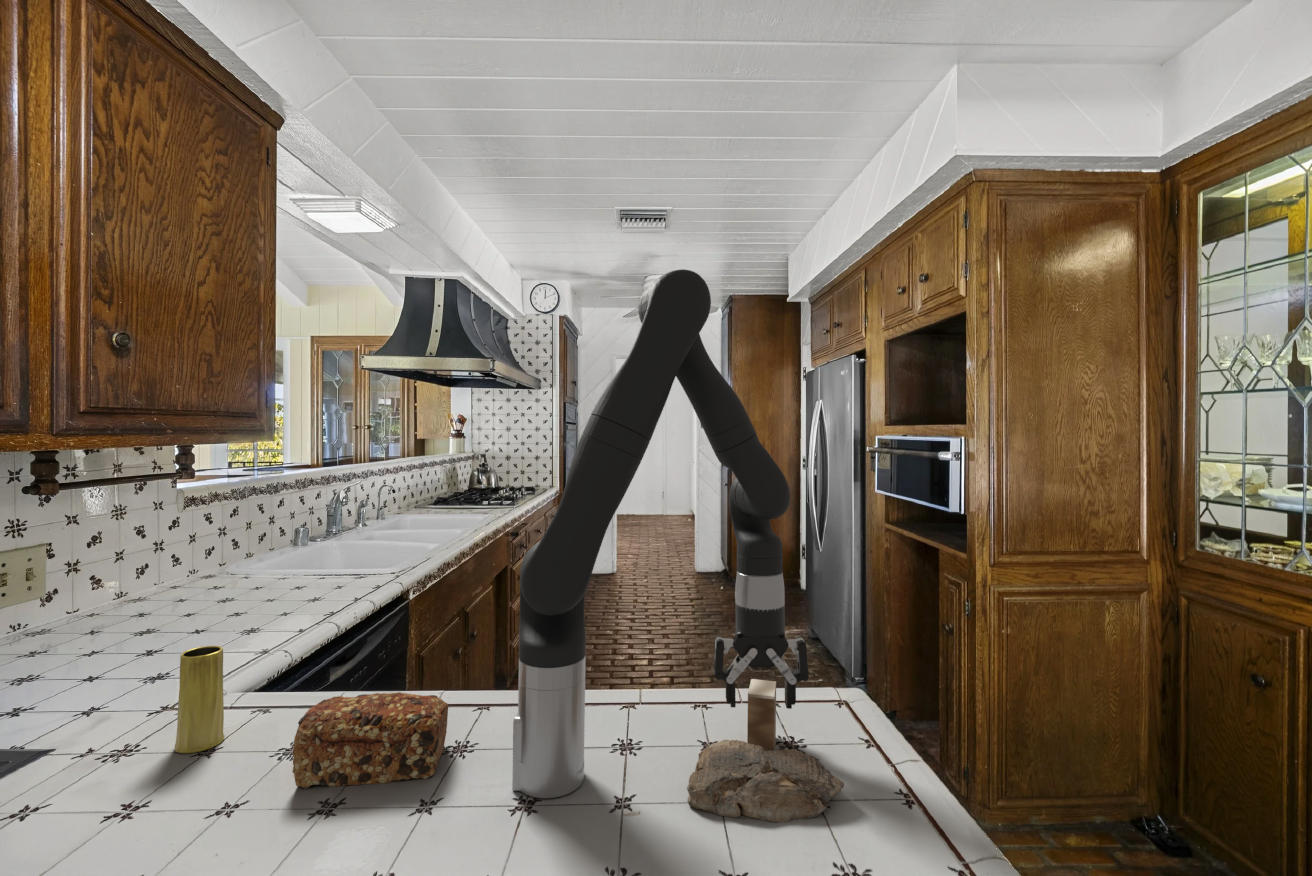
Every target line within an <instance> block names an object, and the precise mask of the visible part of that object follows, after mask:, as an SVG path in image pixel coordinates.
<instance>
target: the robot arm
mask: <svg viewBox="0 0 1312 876" xmlns="http://www.w3.org/2000/svg"><path fill="white" fill-rule="evenodd" d="M711 297H712V296H711V292H710V289H709V286H708V285H707V282H706V281H705V280H704V278H703V277H702V276H701V275H700V274H698V273H697V272H695V271H693V270H690V269H675V270H672V271H668V272H666V273H665V274H662V275H660V276H659V277H658V278H657V279H656V280H654V281H653V282H652V283H650V285H648V287H646V288H645V290H644V291H643V292H642V294H641V296H640V299H639V302H638V307H637V310H638V311H637V312H638V316H639V319H640V320H639V321H640V323H641V326H640V328H639V331H638V333H637V336H636V338H635V341H634V343H633V345H632V348H631V350H630V352H629V353H628V355H627V356H626V358H625V360H624V361H623V363H622V365H620V367H619V369H618V370H617V372H615V374H614V376H613V377H612V379H611V380H610V381H609V383H608V385H607V386H606V387H605V389H604V390H603V393H602V394H601V396H600V397H599V398H598V401H597V402H596V404H595V405H594V408H593V410H592V412H591V414H590V416H589V418H588V420H587V423H586V424H585V427H584V429H583V431H582V434H581V436H580V438H579V440H578V444H577V446H576V448H575V450H574V453H573V454H574V455H573V458H572V460H571V463H570V467H569V471H568V474H567V477H566V482H565V487H564V489H563V493H562V496H561V498H560V502H559V504H558V506H557V509H556V511H555V513H554V515H553V517H552V519H551V521H550V522H549V525H548V527H547V529H546V530H545V533H544V534H543V536H542V538H541V540H540V541H538V542H537V543H535V544H534V545H532V546H531V547H530V548H529V549H528V551H527V552H526V553H525V554H524V556H523V559H522V561H521V564H520V573H519V574H520V575H519V623H518V627H519V628H518V631H519V632H518V695H517V696H518V698H517V701H518V702H517V713H516V715H515V717H514V718H513V723H512V725H513V727H512V729H513V733H512V780H511V781H512V784H511V786H512V788H511V789H512V791H518V792H522V793H523V794H524V795H526V796H530V797H532V798H537V799H554V798H559V797H564V796H566V795H568V794H570V793H572V792H574V791H575V790H577V789H578V788H579V787H580V786H581V785H582V783H583V781H584V777H585V731H586V730H585V728H586V726H585V719H586V714H585V713H586V661H587V660H586V652H587V651H586V650H587V649H586V648H587V646H586V644H587V642H586V641H587V635H586V626H585V625H586V622H585V594H586V591H587V590H588V586H589V583H590V581H591V579H592V578H591V577H592V574H593V571H594V568H595V564H596V561H597V558H598V555H599V552H600V549H601V547H602V544H603V541H604V538H605V535H606V533H607V530H608V528H609V526H610V523H611V521H612V519H613V517H614V515H615V514H616V512H617V510H618V508H619V506H620V504H621V503H622V501H623V499H624V497H625V495H626V493H627V491H628V489H629V487H630V485H631V483H632V481H633V479H634V477H635V474H636V473H637V471H638V469H639V466H640V464H641V463H642V460H643V458H644V456H645V453H646V451H647V449H648V447H649V444H651V443H650V441H652V438H653V434H654V432H655V430H656V428H657V425H658V422H659V420H660V418H661V415H662V413H663V411H664V408H665V406H666V403H667V400H668V398H669V395H670V392H671V391H672V386H673V384H674V382H675V379H677V380H678V383H680V385H681V387H682V389H683V391H684V392H685V396H687V398H688V401H689V402H690V405H691V406H692V408H693V410H694V412H695V415H696V417H697V418H698V420H699V423H700V424H701V427H702V429H703V431H704V434H705V435H706V437H707V441H708V442H709V444H710V446H711V448H712V450H713V452H714V454H715V456H716V458H717V460H718V462H719V463H720V464H721V465H722V466H724V467H725V468H727V469H729V470H730V471H731V472H732V474H733V475H734V476H735V478H734V479H733V480H732V482H731V485H730V489H729V494H728V507H729V513H730V519H731V524H732V528H733V533H734V537H735V540H736V578H735V585H734V586H735V590H734V591H735V592H734V598H735V634H734V636H733V638H724V637H723V636H722V635H717V636H716V637H715V638H714V639H715V641H714V658H713V659H714V661H713V673H714V674H713V676H714V678H715V679H716V680H721V681H724V682H725V700H726V702H727V704H730V708H736V707H737V706H736V682H735V681H737V680H736V679H738V677H739V676H740V675H741V674H743V672H744V671H745V670H746V669H747V667H748V668H750V669H755V670H756V669H760V668H763V669H765V670H772V668H774V667H776V669H778V670H779V672H780V673H781V674H782V675H783V676H784V678H785V679H784V704H785V707H786V709H789V710H790V709H792V707H793V706H795V704H796V702H797V693H796V692H797V690H796V689H797V683H799V682H802V681H803V682H805V681H808V679H809V678H810V677H809V665H808V664H809V662H808V652H807V651H808V649H807V644H806V642H805V640H804V638H803V637H802V636H797V637H796V638H791V639H789V638H788V639H787V638H786V628H785V627H786V623H785V622H786V621H785V618H786V612H785V611H786V609H785V607H786V605H785V604H786V603H785V602H786V601H785V598H786V597H785V594H786V593H785V592H786V591H785V582H784V573H783V571H784V569H783V563H784V561H783V559H784V558H783V553H784V552H783V550H784V549H783V542H782V539H781V537H780V536H778V534H777V533H775V532H774V531H773V529H772V525H771V520H775V519H778V518H780V517H782V516H784V514H785V513H787V510H788V509H789V506H790V502H791V490H790V486H789V484H788V481H787V479H786V476H785V475H784V473H783V472H782V470H781V469H780V467H779V465H777V463H776V462H775V460H774V458H773V457H772V455H771V454H770V453H769V451H767V449H766V448H765V447H764V446H763V444H762V443H761V442H760V440H759V437H758V434H757V432H756V430H755V428H754V425H753V423H752V421H751V419H750V416H749V415H748V412H747V410H746V408H745V405H743V403H742V401H741V399H740V397H739V396H738V395H737V393H736V391H734V389H733V388H732V387H731V385H730V384H729V383H728V381H727V379H725V377H723V375H722V374H721V372H720V371H719V370H718V368H717V367H716V366H715V364H714V362H713V361H712V360H711V357H710V356H709V354H708V351H707V349H706V348H705V346H704V343H703V340H702V337H701V334H700V333H701V332H702V329H703V327H704V326H705V325H706V323H707V321H708V318H709V315H710V311H711V307H712V305H711V304H712V299H711ZM730 648H733V649H734V651H735V652H736V653H737V655H736V656H735V657H734V659H733V660H732V663H731V664H730V665H729V667H728V668H727V669H725V668H724V657H725V656H724V655H725V654H727V653H729V650H730ZM789 648H790V649H791V651H792V653H793V654H794V655H796V656H795V657H796V667H797V668H796V669H795V670H792V669H791V668H790V667H789V665H788V664H787V662H786V661H785V660H784V658H783V656H784V655H785V654H786V652H787V651H788V649H789Z"/></svg>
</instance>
